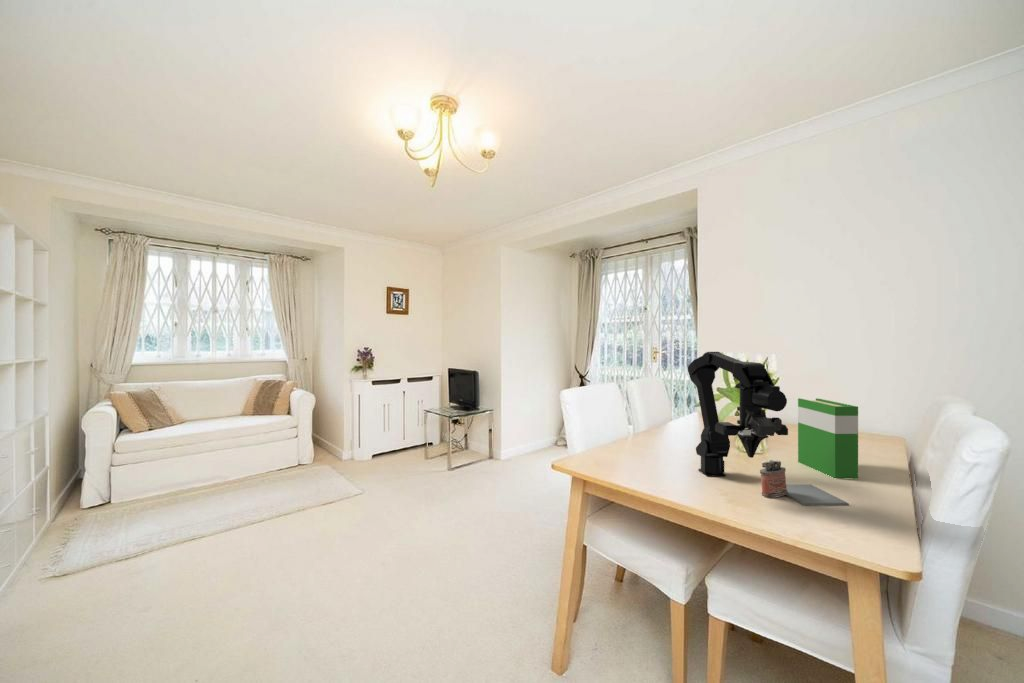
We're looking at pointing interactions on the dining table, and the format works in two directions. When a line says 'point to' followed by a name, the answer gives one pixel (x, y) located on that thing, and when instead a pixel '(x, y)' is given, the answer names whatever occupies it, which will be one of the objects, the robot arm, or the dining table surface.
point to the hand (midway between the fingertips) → (750, 457)
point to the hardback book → (828, 437)
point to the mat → (812, 495)
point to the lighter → (773, 479)
